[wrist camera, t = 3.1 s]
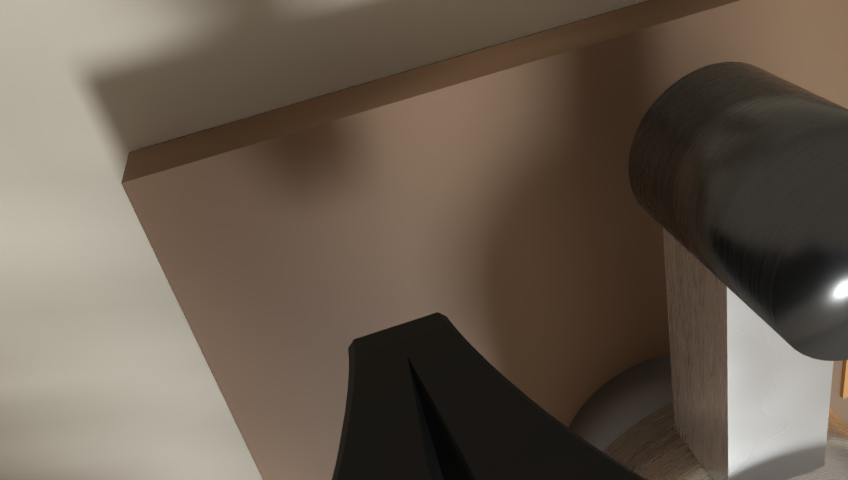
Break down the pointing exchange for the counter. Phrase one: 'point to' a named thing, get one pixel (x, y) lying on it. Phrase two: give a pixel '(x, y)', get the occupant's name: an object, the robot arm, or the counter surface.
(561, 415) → the lock base
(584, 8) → the counter surface
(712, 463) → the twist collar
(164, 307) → the counter surface
